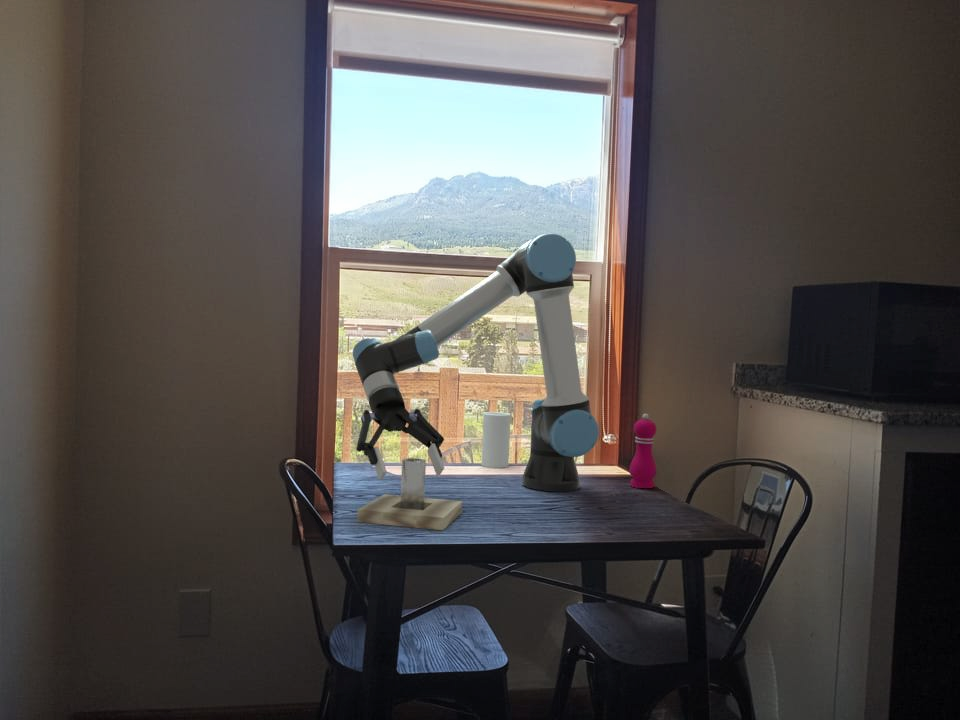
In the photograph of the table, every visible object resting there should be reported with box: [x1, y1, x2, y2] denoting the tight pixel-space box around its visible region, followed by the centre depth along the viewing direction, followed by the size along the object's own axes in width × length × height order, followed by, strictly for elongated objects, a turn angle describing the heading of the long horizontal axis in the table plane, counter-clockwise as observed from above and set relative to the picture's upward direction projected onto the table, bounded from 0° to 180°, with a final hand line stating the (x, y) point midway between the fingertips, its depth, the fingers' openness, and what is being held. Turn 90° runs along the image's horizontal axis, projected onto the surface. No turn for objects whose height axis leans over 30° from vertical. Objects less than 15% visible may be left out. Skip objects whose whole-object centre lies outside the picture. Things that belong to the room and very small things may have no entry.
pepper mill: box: [629, 413, 658, 490], centre depth 198 cm, size 7×7×20 cm
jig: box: [356, 493, 463, 531], centre depth 154 cm, size 18×16×2 cm
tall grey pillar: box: [400, 457, 427, 510], centre depth 154 cm, size 5×5×12 cm
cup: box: [481, 411, 512, 469], centre depth 222 cm, size 8×8×16 cm
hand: (412, 474), depth 153 cm, fingers open, 13 cm apart
